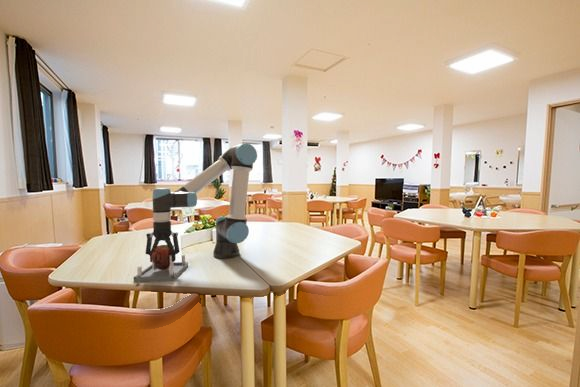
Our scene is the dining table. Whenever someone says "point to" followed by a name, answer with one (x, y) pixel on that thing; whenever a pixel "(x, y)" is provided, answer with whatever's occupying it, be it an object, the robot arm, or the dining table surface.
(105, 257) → the dining table surface
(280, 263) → the dining table surface
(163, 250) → the mug
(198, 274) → the dining table surface
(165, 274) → the tray
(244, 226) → the robot arm
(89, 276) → the dining table surface
